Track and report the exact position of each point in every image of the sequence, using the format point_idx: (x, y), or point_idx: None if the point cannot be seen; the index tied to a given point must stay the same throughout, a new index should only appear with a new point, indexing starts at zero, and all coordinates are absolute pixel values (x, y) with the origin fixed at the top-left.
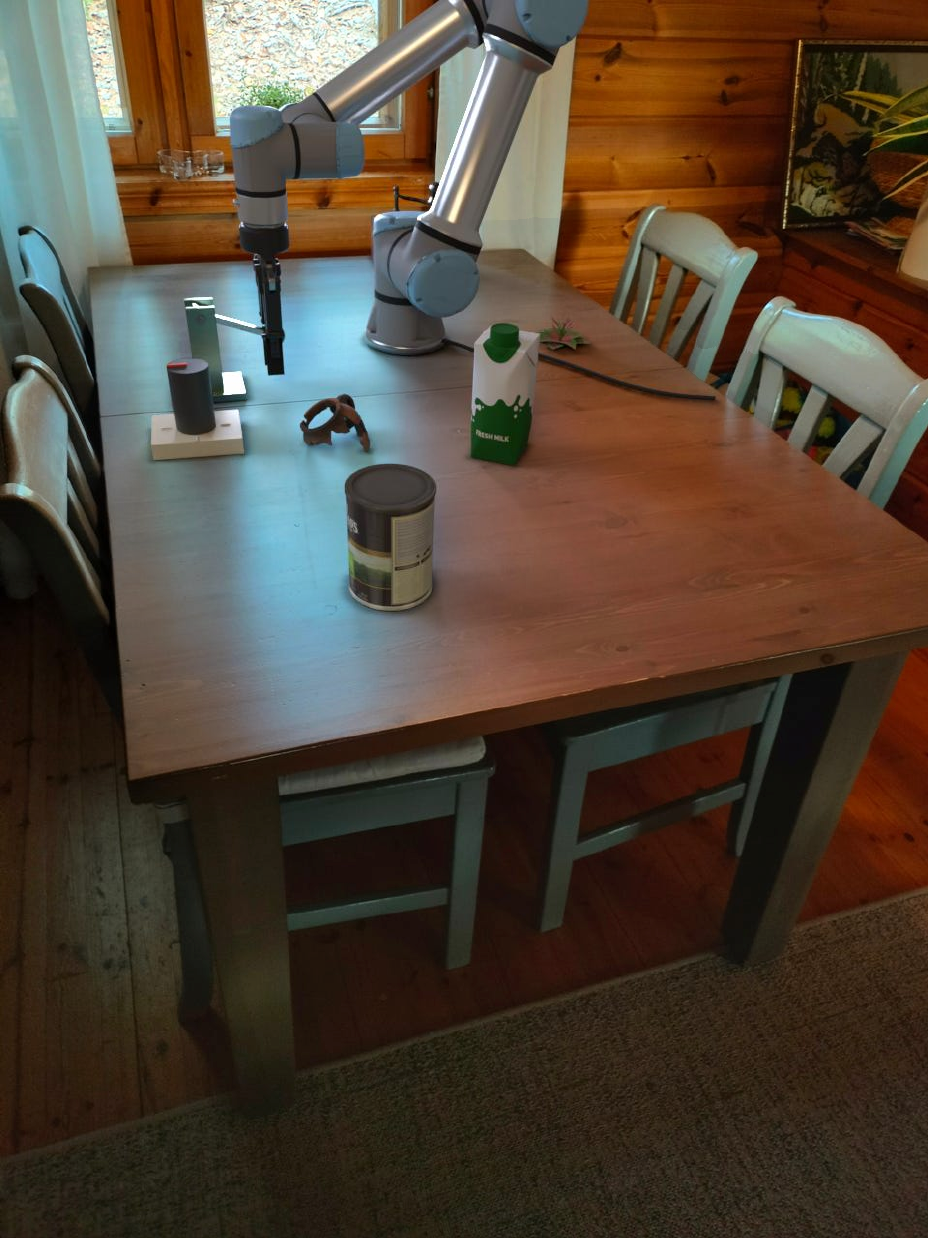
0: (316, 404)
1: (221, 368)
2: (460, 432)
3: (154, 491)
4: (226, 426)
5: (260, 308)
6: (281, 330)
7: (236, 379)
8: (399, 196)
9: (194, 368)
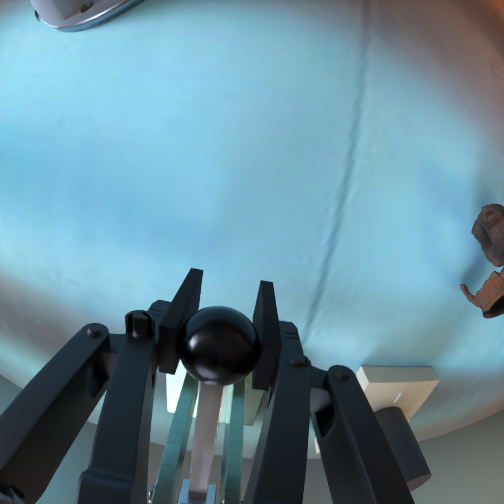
0: (500, 296)
1: (243, 407)
2: (498, 72)
3: (424, 426)
4: (403, 396)
5: (104, 391)
6: (359, 390)
7: None
8: None
9: (418, 482)
